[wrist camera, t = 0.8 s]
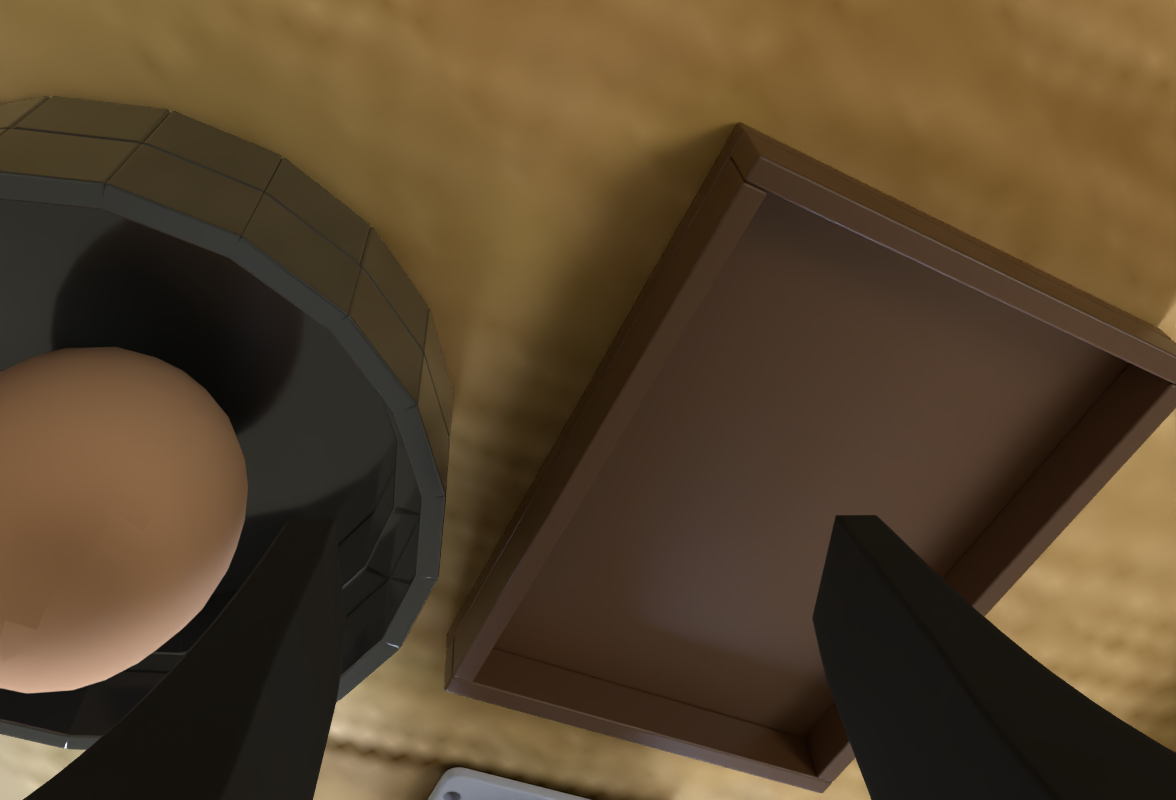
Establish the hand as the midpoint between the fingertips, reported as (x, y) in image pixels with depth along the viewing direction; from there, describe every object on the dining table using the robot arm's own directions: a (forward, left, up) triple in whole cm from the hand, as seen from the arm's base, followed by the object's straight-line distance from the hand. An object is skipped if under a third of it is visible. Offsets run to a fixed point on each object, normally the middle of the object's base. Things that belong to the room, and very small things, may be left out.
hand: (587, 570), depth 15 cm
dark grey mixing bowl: (-7, +7, -10) cm, 14 cm away
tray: (-3, -8, -10) cm, 13 cm away
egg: (-7, +7, -10) cm, 14 cm away
